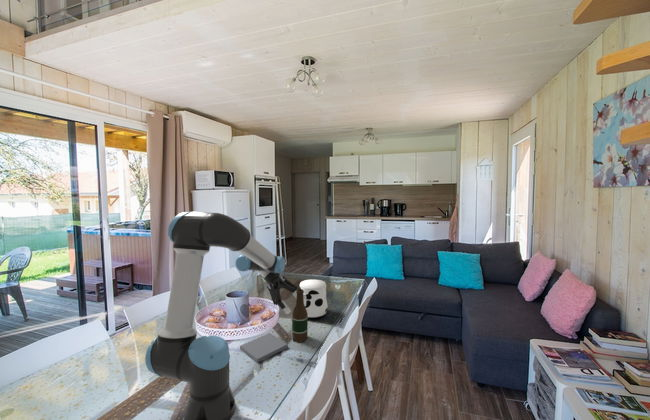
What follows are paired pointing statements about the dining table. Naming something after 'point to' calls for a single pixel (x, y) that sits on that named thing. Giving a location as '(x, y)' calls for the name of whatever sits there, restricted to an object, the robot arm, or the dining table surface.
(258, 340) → the slate board
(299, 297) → the beer bottle
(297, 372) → the dining table surface
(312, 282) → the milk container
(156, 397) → the dining table surface
